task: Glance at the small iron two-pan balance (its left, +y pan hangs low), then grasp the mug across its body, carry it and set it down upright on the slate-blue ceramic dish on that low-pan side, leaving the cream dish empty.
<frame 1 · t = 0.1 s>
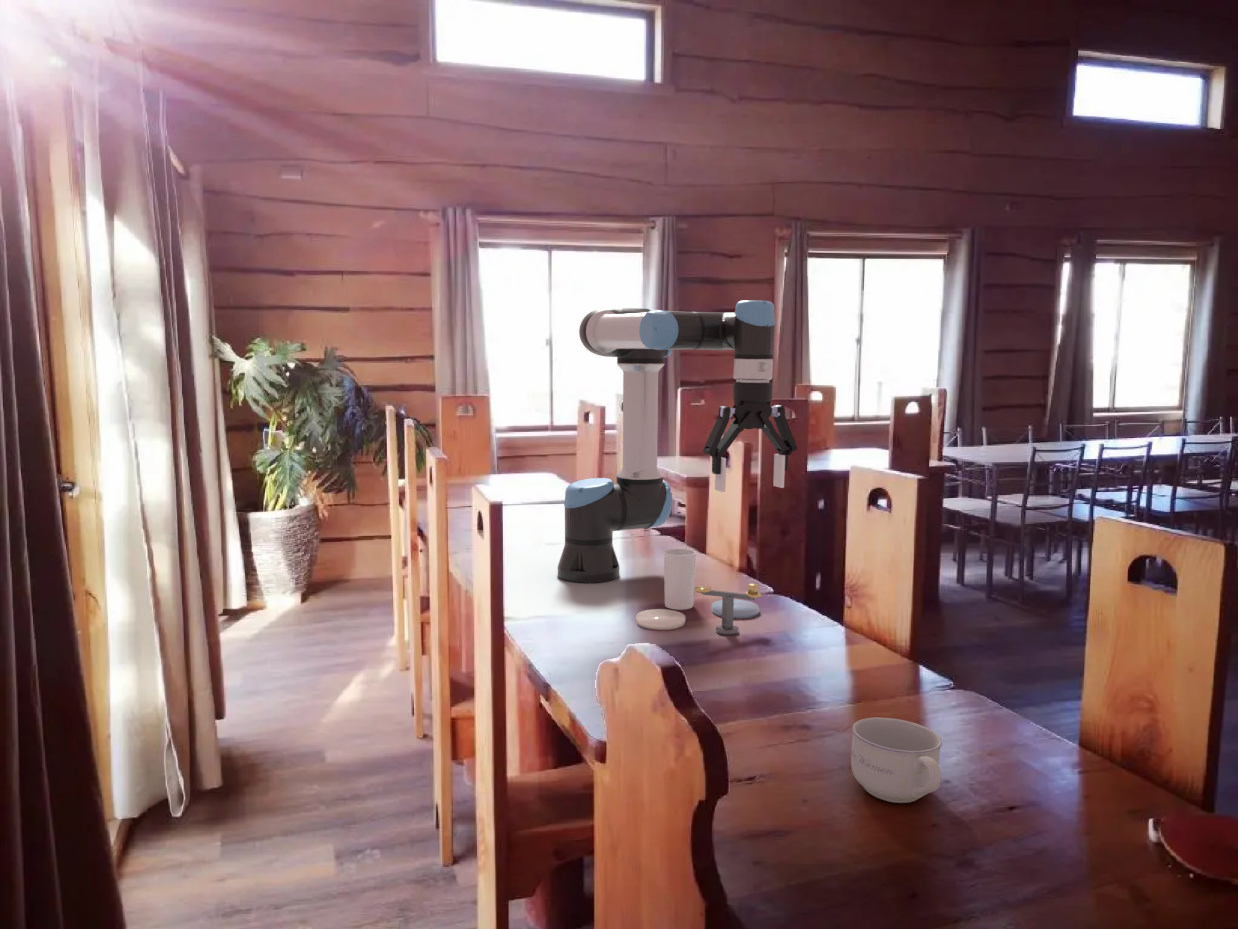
hand: (749, 488, 176), 28 cm above the table, fingers open, 13 cm apart
dish cream: (660, 622, 181), on the table
dish blue: (735, 611, 189), on the table
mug: (677, 604, 194), on the table
balance: (727, 632, 175), on the table
teacup: (898, 799, 112), on the table
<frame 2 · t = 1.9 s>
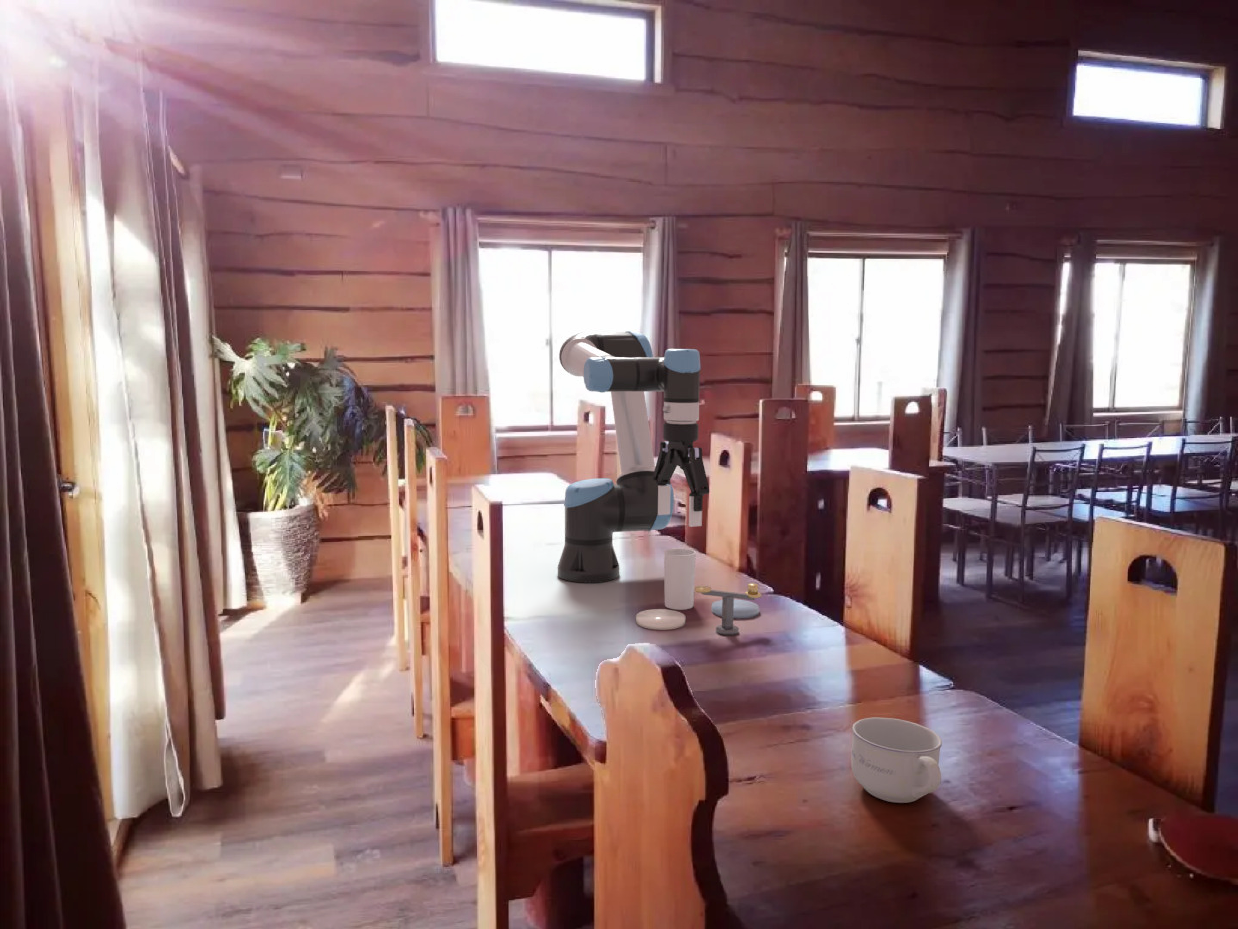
hand: (679, 520, 192), 19 cm above the table, fingers open, 13 cm apart
nothing on the table moved.
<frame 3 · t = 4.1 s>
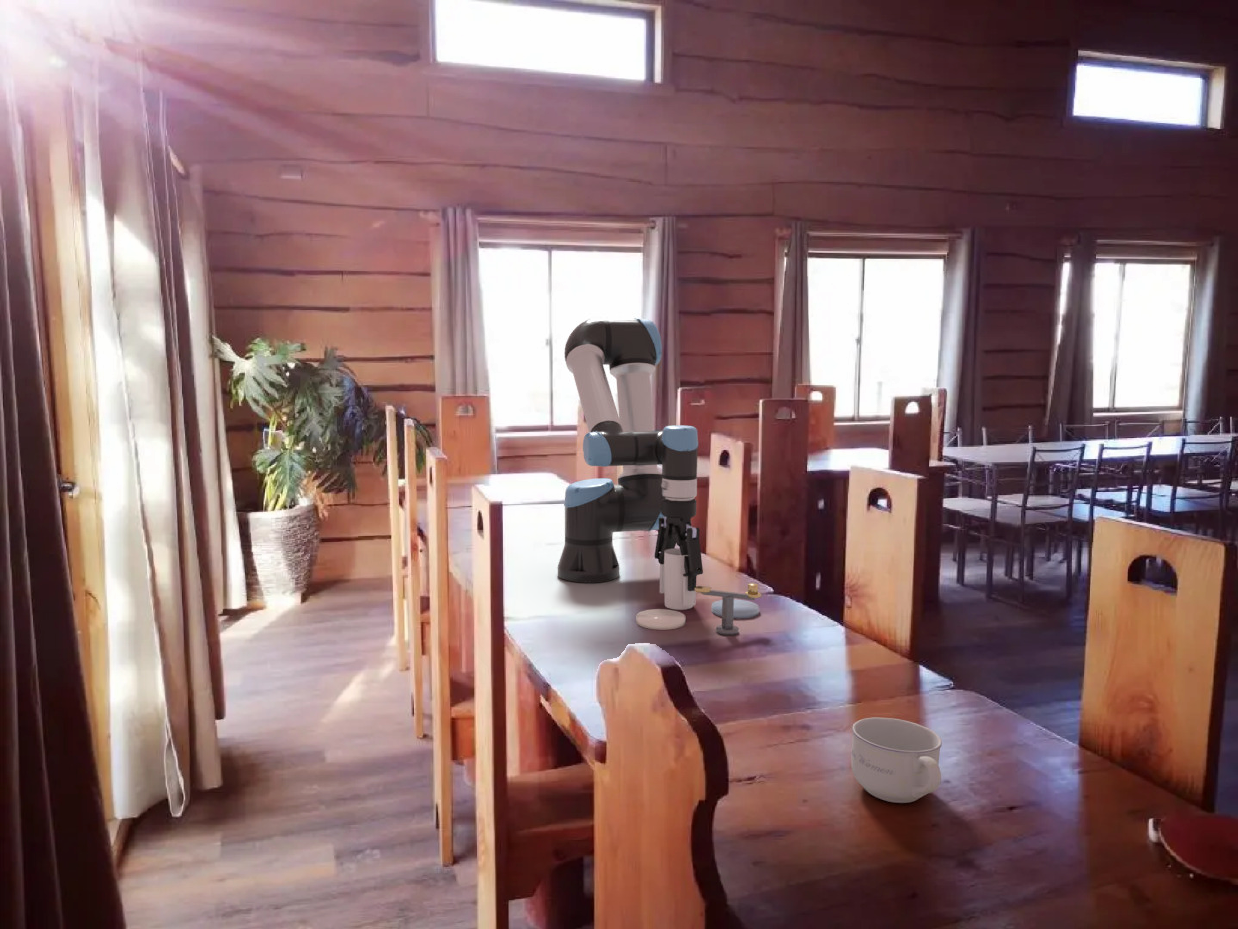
hand: (677, 598, 194), 1 cm above the table, fingers closed on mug, 10 cm apart
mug: (677, 604, 194), on the table, touching gripper
everything else where it was.
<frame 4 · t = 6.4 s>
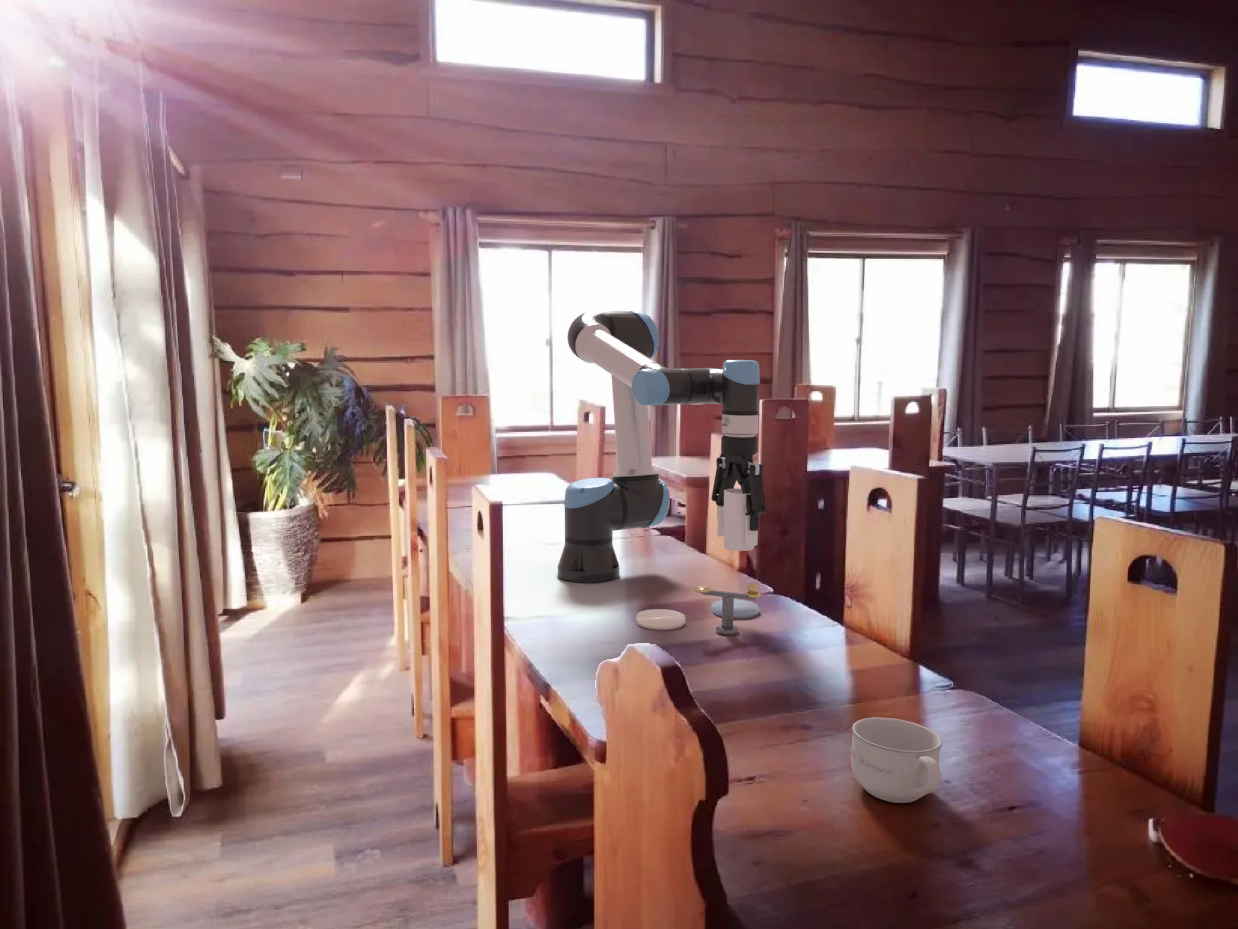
hand: (736, 540, 187), 15 cm above the table, fingers closed on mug, 10 cm apart
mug: (736, 546, 187), point 14 cm above the table, touching gripper
everything else where it was.
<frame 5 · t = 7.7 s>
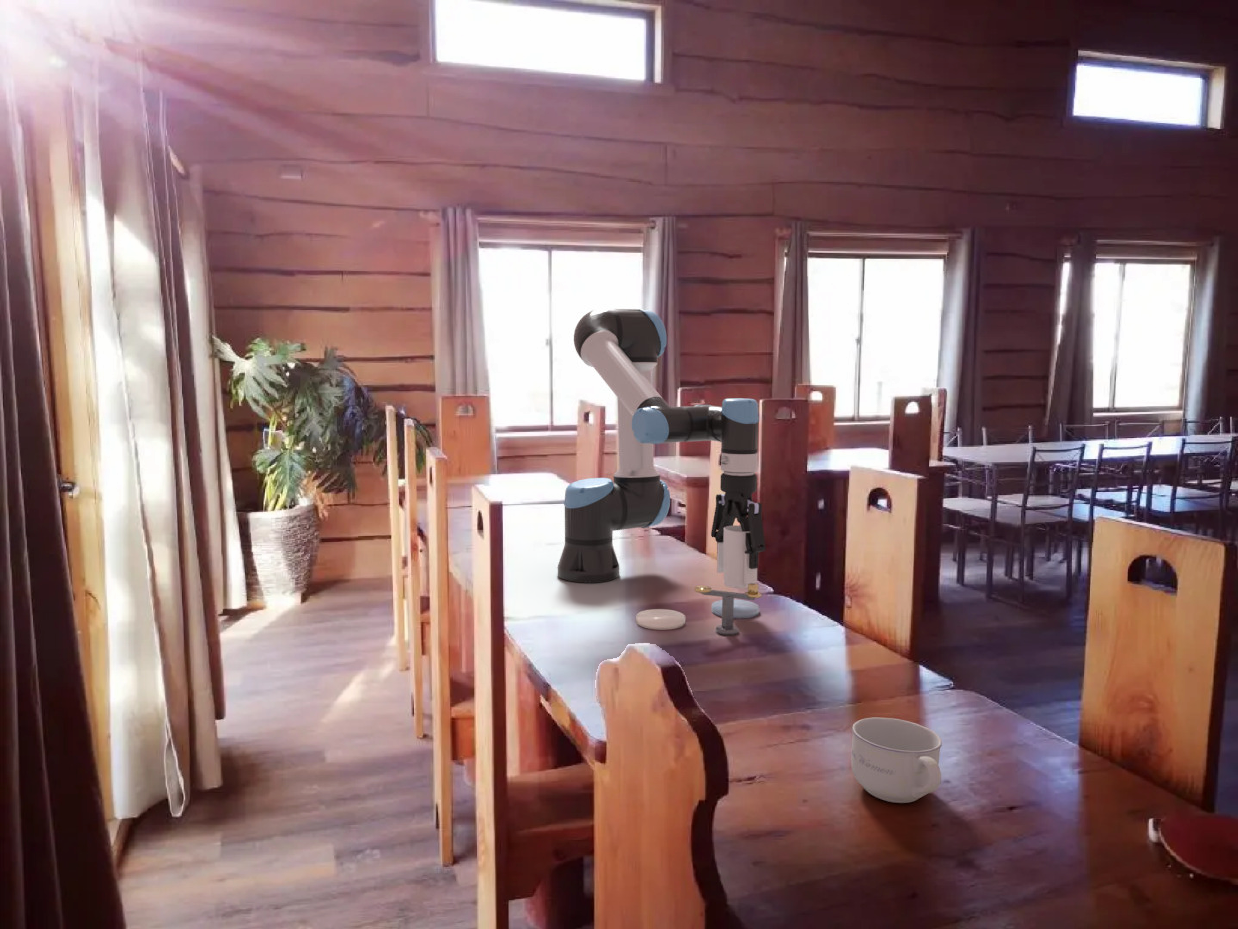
hand: (736, 577, 188), 7 cm above the table, fingers closed on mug, 10 cm apart
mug: (736, 583, 188), point 6 cm above the table, touching gripper
everything else where it was.
when the fingers open (4 cm above the table, at t = 9.0 s): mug drops 1 cm, resting on dish blue.
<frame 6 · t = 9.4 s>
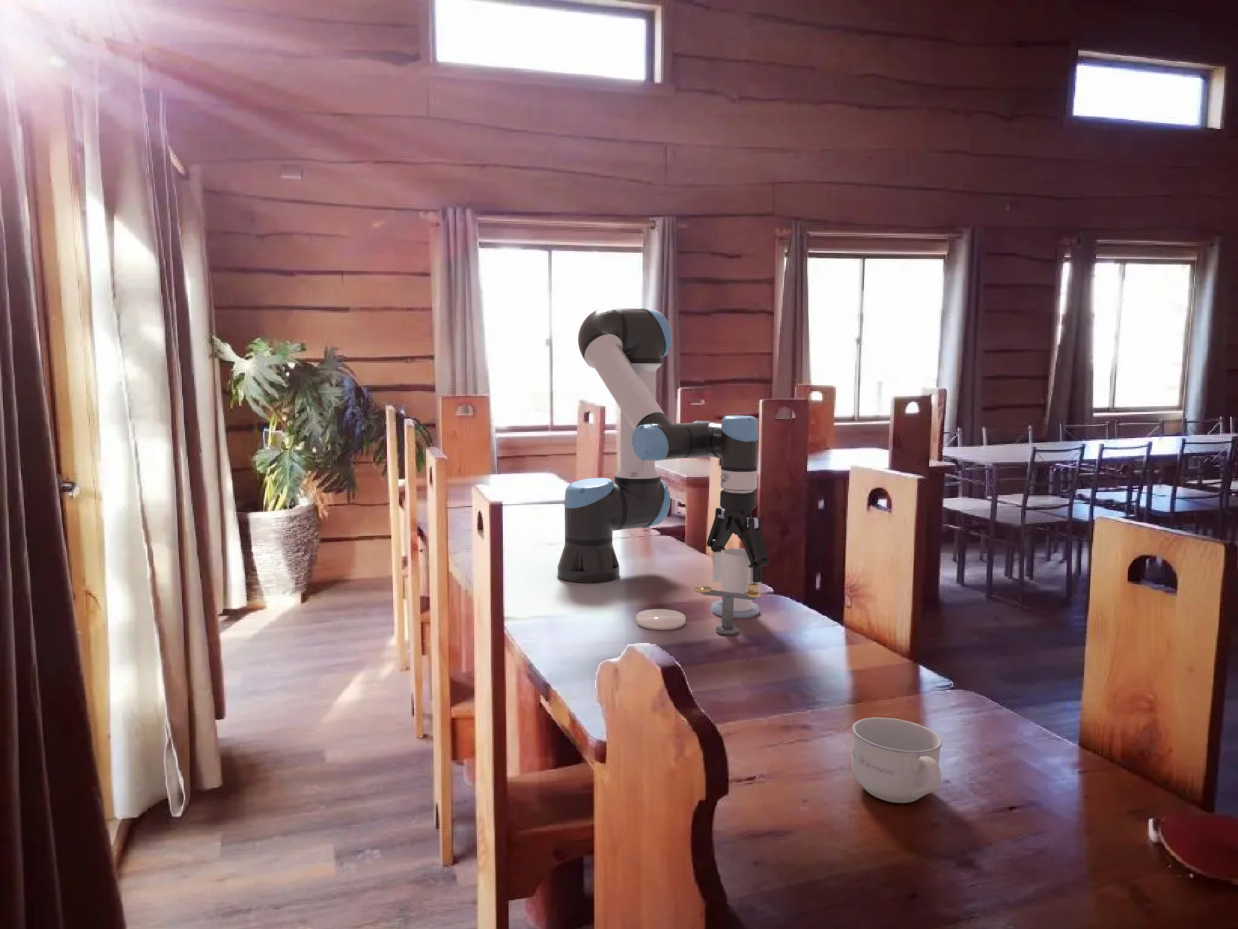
hand: (735, 589, 188), 5 cm above the table, fingers open, 13 cm apart
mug: (734, 606, 189), point 1 cm above the table, touching dish blue
everything else where it was.
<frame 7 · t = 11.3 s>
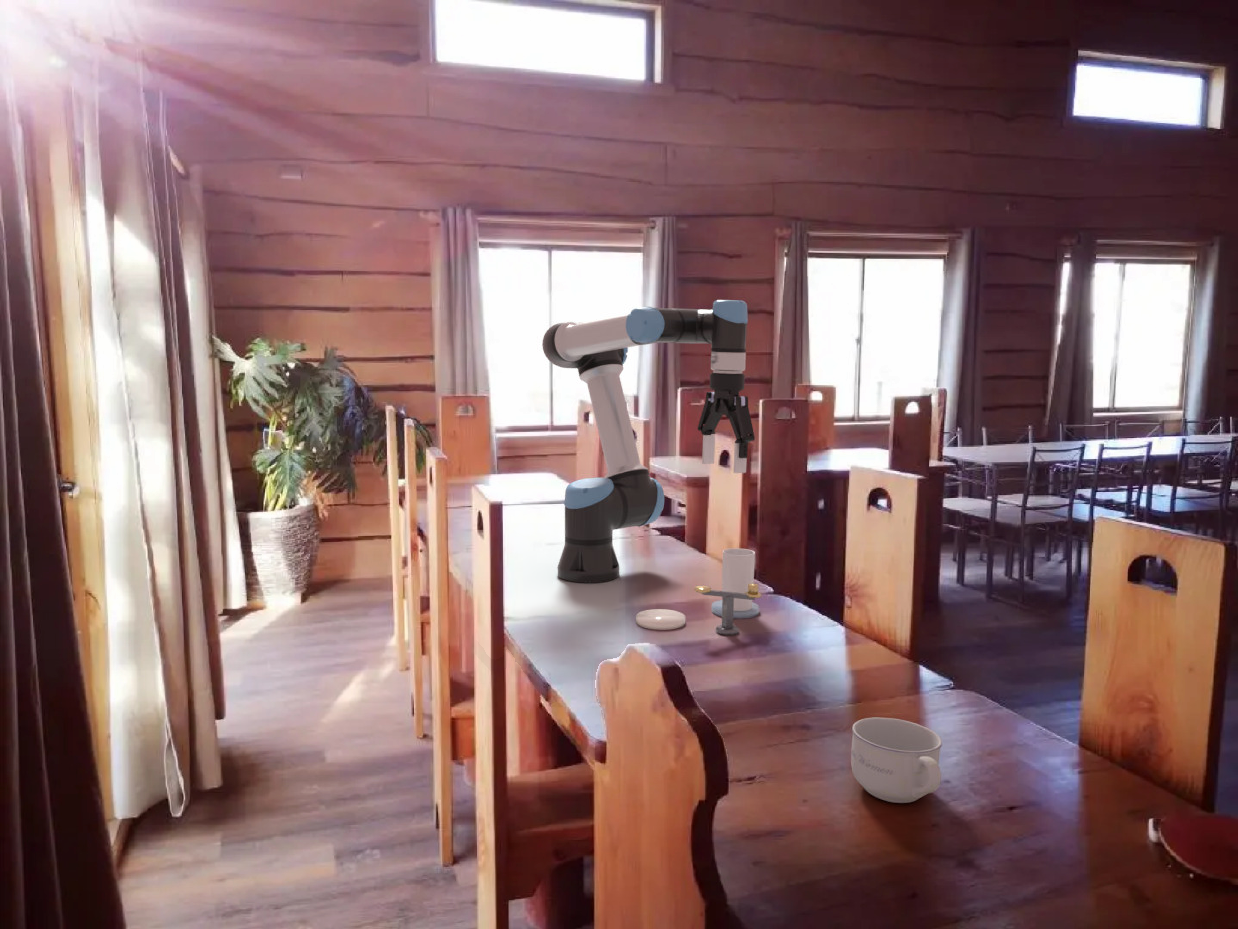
hand: (723, 468, 197), 29 cm above the table, fingers open, 13 cm apart
nothing on the table moved.
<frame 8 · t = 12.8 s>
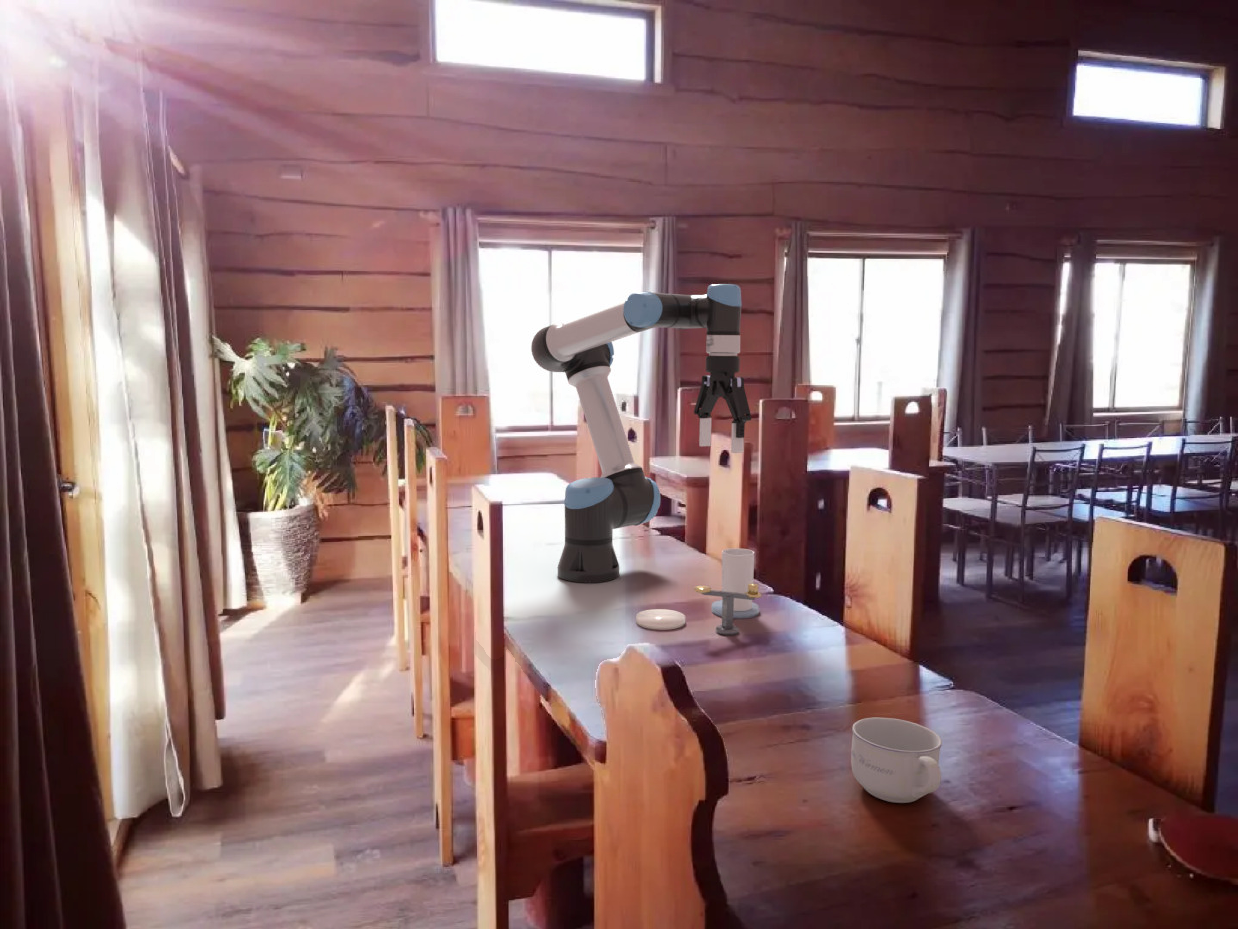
hand: (720, 449, 201), 33 cm above the table, fingers open, 13 cm apart
nothing on the table moved.
at the end: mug 0.3 cm from the dish blue (horizontally); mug touching dish blue; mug tilted 1° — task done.
